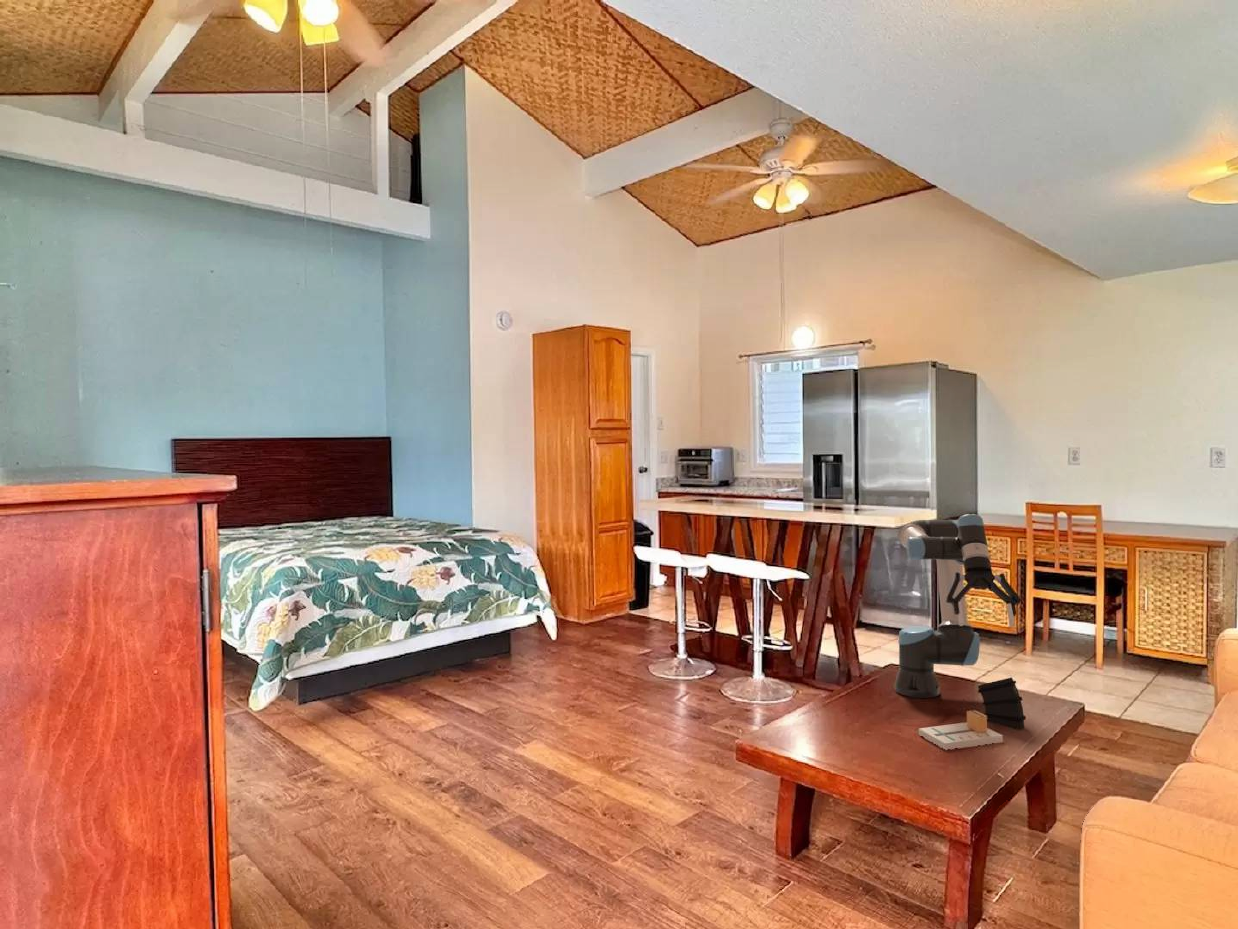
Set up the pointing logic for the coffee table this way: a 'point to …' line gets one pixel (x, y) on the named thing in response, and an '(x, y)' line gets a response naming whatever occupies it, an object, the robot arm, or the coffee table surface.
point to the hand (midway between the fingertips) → (986, 625)
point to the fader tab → (976, 721)
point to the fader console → (958, 736)
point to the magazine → (1003, 703)
